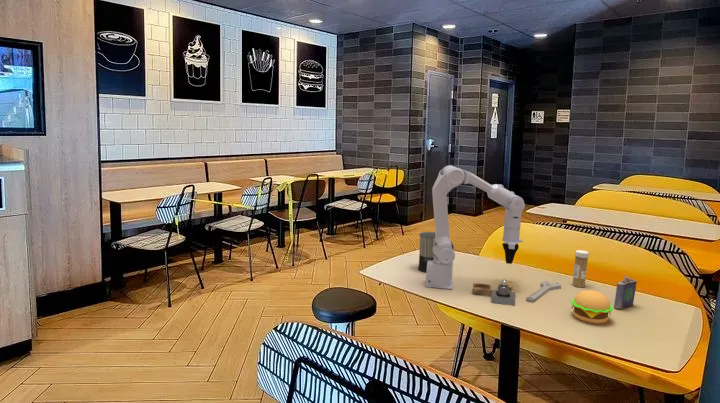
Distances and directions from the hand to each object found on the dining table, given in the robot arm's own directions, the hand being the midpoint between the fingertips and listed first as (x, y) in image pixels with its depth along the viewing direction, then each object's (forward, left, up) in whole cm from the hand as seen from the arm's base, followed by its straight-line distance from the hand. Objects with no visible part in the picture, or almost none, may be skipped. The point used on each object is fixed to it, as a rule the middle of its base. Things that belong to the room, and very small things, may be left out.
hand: (508, 263), depth 179 cm
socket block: (-2, -14, -9) cm, 17 cm away
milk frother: (-29, +13, -9) cm, 33 cm away
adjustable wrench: (+11, -3, -9) cm, 15 cm away
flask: (+37, -9, -9) cm, 39 cm away
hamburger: (+24, -23, -9) cm, 35 cm away
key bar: (0, -6, -9) cm, 11 cm away
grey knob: (-2, -16, -9) cm, 19 cm away
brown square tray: (-9, -11, -9) cm, 17 cm away
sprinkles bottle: (+26, +9, -9) cm, 29 cm away
